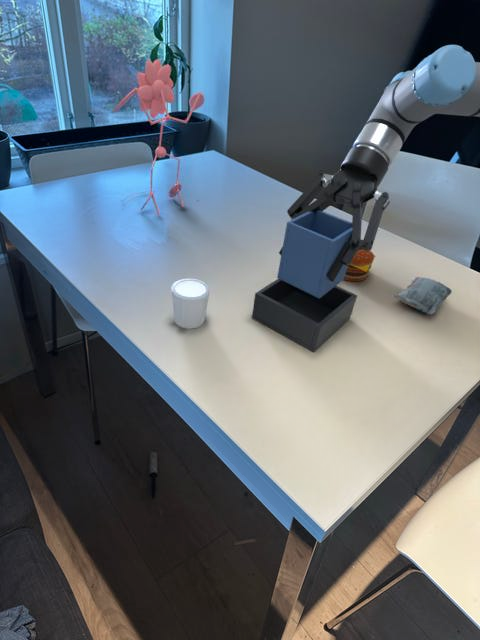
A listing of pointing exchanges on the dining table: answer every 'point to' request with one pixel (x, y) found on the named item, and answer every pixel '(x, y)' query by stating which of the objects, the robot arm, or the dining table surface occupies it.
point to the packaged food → (424, 294)
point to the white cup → (190, 302)
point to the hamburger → (359, 266)
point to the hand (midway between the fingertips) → (305, 267)
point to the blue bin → (313, 251)
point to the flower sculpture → (159, 108)
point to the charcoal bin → (303, 312)
